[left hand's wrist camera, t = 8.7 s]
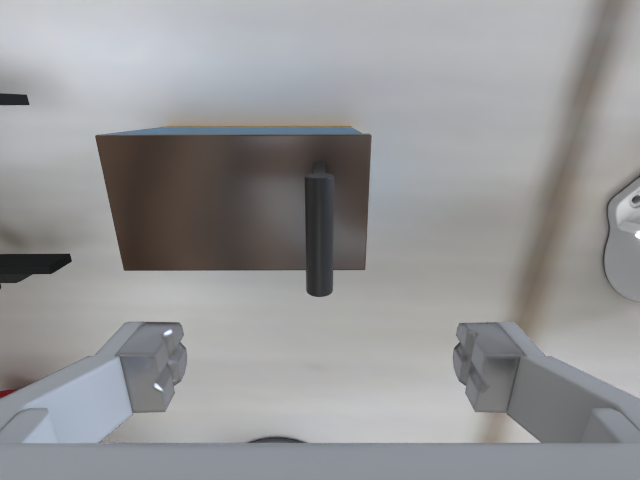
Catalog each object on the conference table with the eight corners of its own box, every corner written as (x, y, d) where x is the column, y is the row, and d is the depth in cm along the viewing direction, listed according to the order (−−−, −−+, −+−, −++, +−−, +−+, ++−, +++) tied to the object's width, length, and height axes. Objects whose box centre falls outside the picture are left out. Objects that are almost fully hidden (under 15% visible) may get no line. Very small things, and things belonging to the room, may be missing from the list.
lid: (369, 133, 24) (391, 144, 17) (363, 264, 27) (379, 321, 20) (103, 134, 24) (8, 145, 17) (130, 265, 27) (61, 322, 20)
